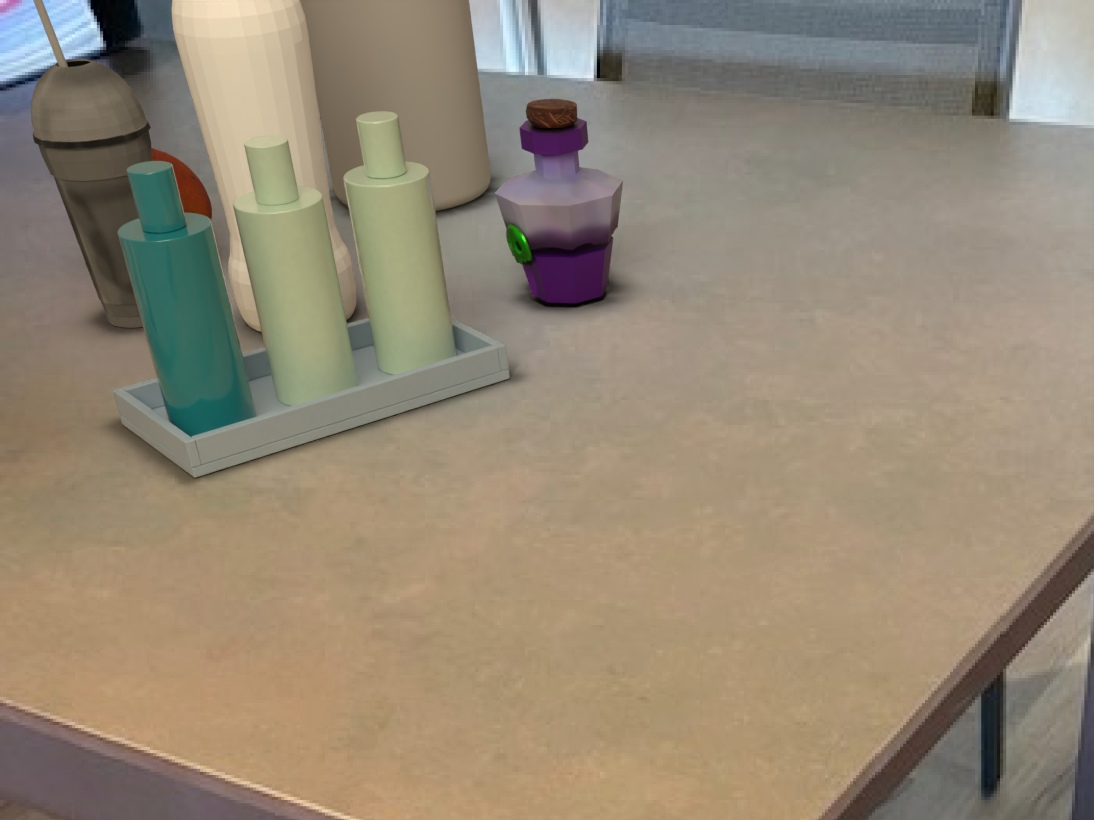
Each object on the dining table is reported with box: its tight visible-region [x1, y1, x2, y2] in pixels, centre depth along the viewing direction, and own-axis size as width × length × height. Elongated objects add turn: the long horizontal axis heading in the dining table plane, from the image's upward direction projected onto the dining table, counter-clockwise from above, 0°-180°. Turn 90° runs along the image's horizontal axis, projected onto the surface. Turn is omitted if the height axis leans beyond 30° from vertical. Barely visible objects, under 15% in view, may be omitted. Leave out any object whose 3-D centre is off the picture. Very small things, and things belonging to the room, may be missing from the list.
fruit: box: [152, 147, 213, 221], centre depth 119 cm, size 9×9×8 cm
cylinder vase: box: [300, 0, 492, 212], centre depth 123 cm, size 12×12×25 cm
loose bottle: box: [118, 161, 257, 437], centre depth 92 cm, size 5×5×14 cm
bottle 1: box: [170, 0, 357, 333], centre depth 101 cm, size 8×8×30 cm
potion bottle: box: [494, 98, 624, 308], centre depth 109 cm, size 9×9×12 cm
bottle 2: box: [233, 135, 359, 406], centre depth 95 cm, size 5×5×14 cm
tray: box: [112, 317, 511, 479], centre depth 100 cm, size 21×10×2 cm, turn 129°
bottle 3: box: [343, 111, 457, 375], centre depth 99 cm, size 5×5×14 cm
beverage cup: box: [30, 0, 153, 329], centre depth 106 cm, size 7×7×20 cm
